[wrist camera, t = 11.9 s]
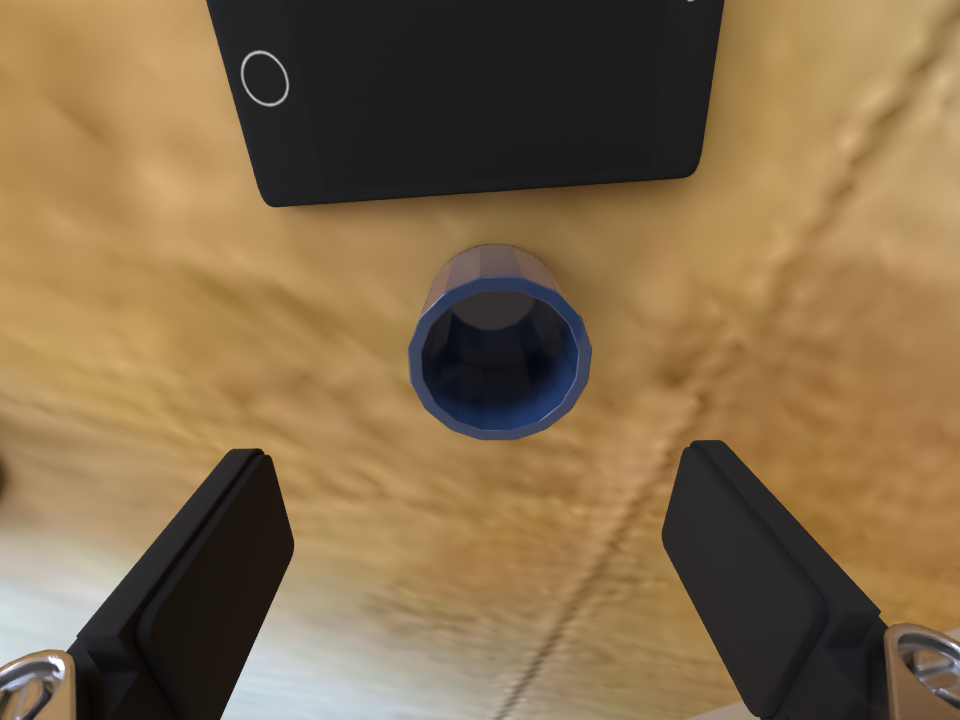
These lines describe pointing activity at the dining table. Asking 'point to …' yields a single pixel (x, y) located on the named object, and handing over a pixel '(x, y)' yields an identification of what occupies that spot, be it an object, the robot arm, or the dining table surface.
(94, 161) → the dining table surface
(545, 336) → the blue plastic cup
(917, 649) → the robot arm
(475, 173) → the cell phone
